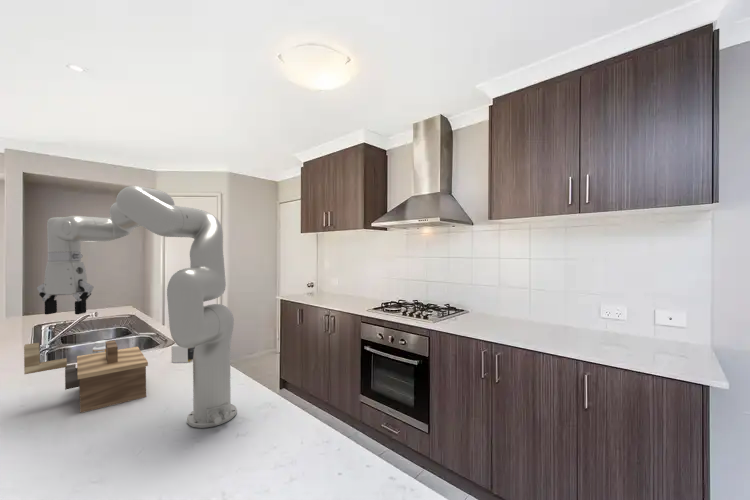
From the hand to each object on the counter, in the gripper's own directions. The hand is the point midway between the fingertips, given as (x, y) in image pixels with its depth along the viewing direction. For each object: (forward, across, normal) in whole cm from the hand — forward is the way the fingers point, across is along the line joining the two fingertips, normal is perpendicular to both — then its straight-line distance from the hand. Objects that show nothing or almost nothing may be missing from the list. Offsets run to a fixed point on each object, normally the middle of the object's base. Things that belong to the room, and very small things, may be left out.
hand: (65, 313), depth 105 cm
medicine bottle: (+28, -11, -41) cm, 51 cm away
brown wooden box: (+28, -6, -7) cm, 29 cm away
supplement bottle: (+28, +17, -31) cm, 45 cm away
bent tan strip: (+16, +3, +3) cm, 17 cm away
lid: (+18, -8, -8) cm, 21 cm away
